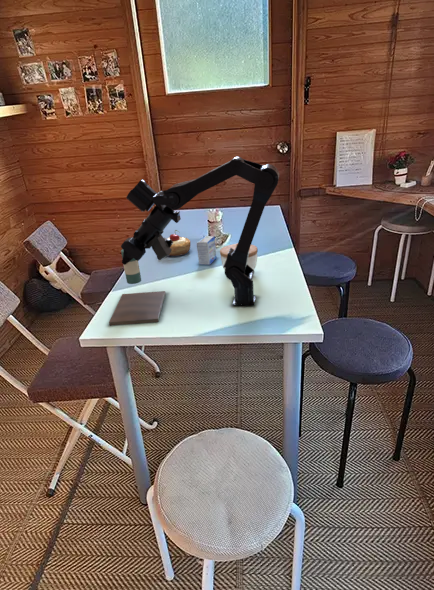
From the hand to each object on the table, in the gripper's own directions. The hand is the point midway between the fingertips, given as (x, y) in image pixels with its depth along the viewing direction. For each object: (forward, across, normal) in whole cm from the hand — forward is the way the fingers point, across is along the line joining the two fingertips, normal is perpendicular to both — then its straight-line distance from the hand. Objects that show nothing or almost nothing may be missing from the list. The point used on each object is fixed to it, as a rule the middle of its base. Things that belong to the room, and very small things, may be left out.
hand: (126, 261), depth 130 cm
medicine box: (-2, +36, -22) cm, 42 cm away
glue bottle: (+4, 0, -6) cm, 7 cm away
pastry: (+8, +47, -11) cm, 49 cm away
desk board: (+7, -5, -12) cm, 15 cm away
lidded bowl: (-12, +22, -32) cm, 40 cm away
